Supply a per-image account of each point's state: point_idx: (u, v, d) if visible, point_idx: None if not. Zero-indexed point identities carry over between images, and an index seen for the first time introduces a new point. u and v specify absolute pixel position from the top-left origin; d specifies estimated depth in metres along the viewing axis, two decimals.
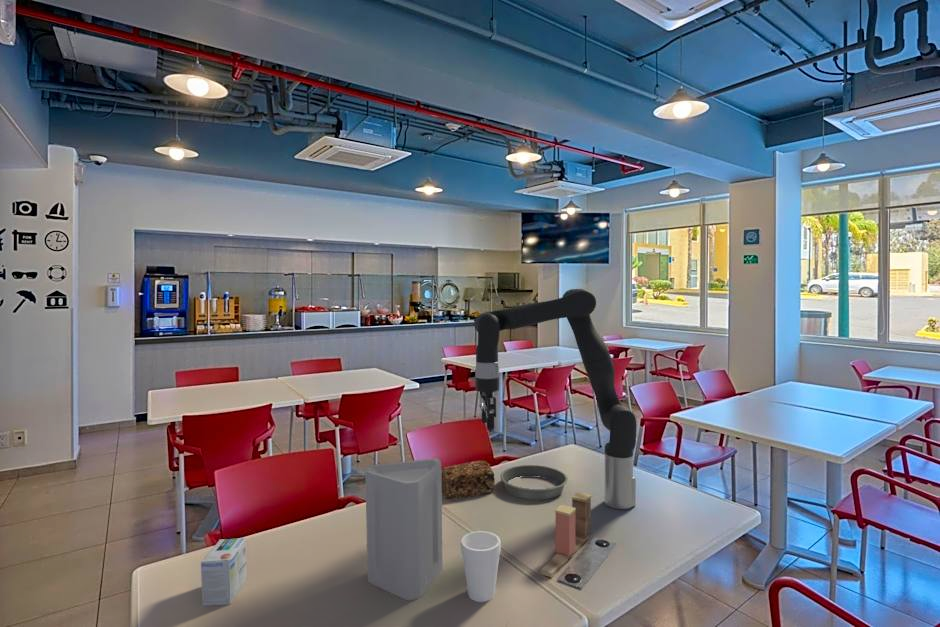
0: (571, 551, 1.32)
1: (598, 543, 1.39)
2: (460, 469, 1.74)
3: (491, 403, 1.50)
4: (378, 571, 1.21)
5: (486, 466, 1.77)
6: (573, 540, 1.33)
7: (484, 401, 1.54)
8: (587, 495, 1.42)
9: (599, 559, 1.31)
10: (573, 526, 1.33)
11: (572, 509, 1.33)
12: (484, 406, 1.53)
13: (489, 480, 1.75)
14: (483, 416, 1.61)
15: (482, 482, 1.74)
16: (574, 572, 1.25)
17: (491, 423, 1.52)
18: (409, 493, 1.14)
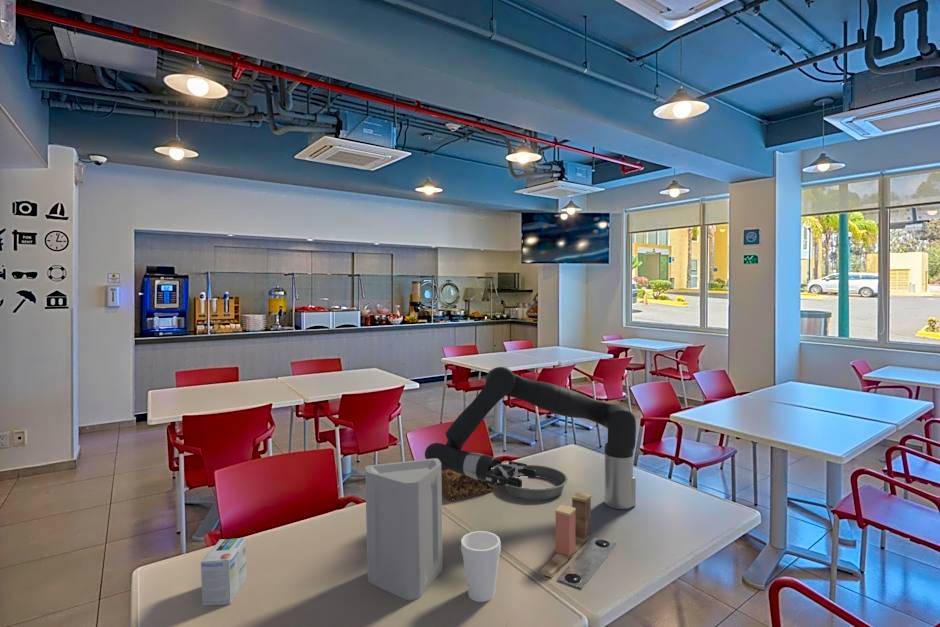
0: (571, 551, 1.32)
1: (598, 543, 1.39)
2: None
3: (489, 480, 1.39)
4: (378, 571, 1.21)
5: None
6: (573, 540, 1.33)
7: (499, 479, 1.42)
8: (587, 495, 1.42)
9: (599, 559, 1.31)
10: (573, 526, 1.33)
11: (572, 509, 1.33)
12: None
13: None
14: (529, 475, 1.44)
15: (482, 482, 1.75)
16: (574, 572, 1.25)
17: (512, 482, 1.36)
18: (409, 493, 1.14)
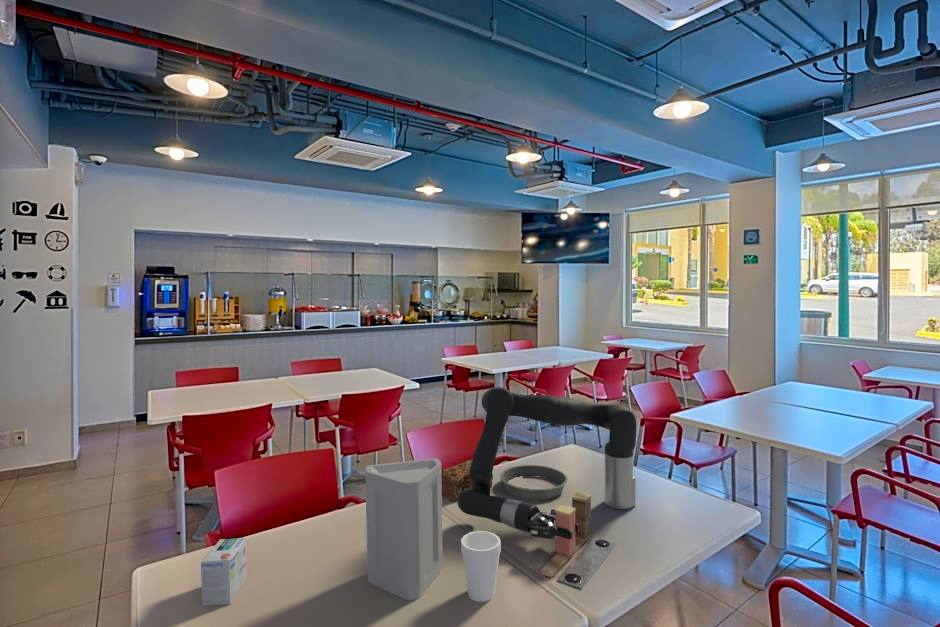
0: (571, 551, 1.32)
1: (598, 543, 1.39)
2: (462, 469, 1.74)
3: (536, 533, 1.31)
4: (378, 571, 1.21)
5: None
6: (573, 540, 1.33)
7: None
8: (587, 495, 1.42)
9: (599, 559, 1.31)
10: (573, 526, 1.33)
11: (572, 509, 1.33)
12: (545, 534, 1.34)
13: None
14: None
15: None
16: (574, 572, 1.25)
17: (562, 534, 1.30)
18: (409, 493, 1.14)
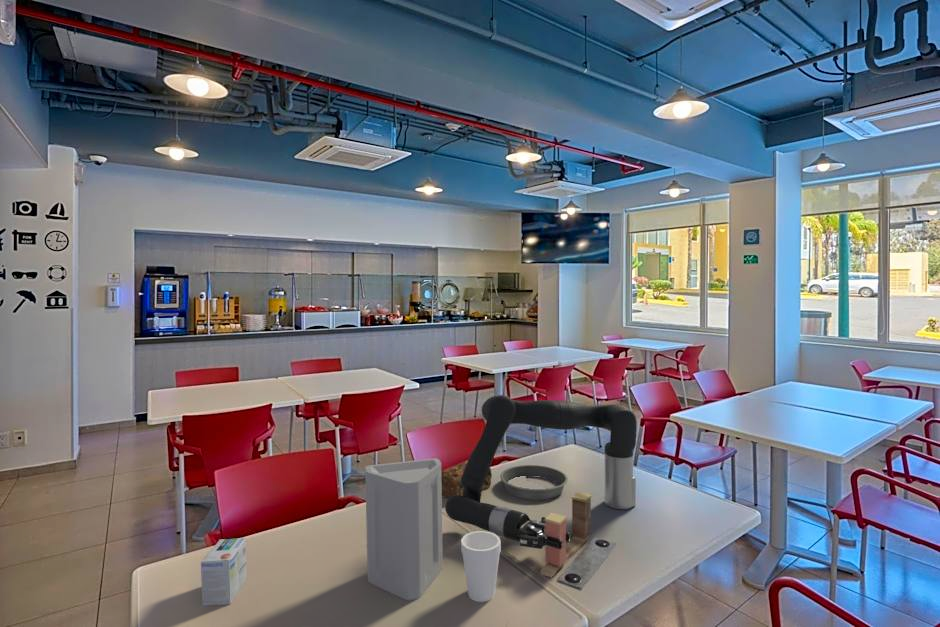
0: (562, 561, 1.27)
1: (598, 543, 1.39)
2: (463, 469, 1.74)
3: (525, 542, 1.26)
4: (378, 571, 1.21)
5: None
6: (564, 550, 1.28)
7: None
8: (587, 495, 1.42)
9: (599, 559, 1.31)
10: (564, 535, 1.28)
11: (563, 518, 1.28)
12: None
13: (488, 476, 1.79)
14: None
15: None
16: (574, 572, 1.25)
17: (552, 543, 1.25)
18: (409, 493, 1.14)
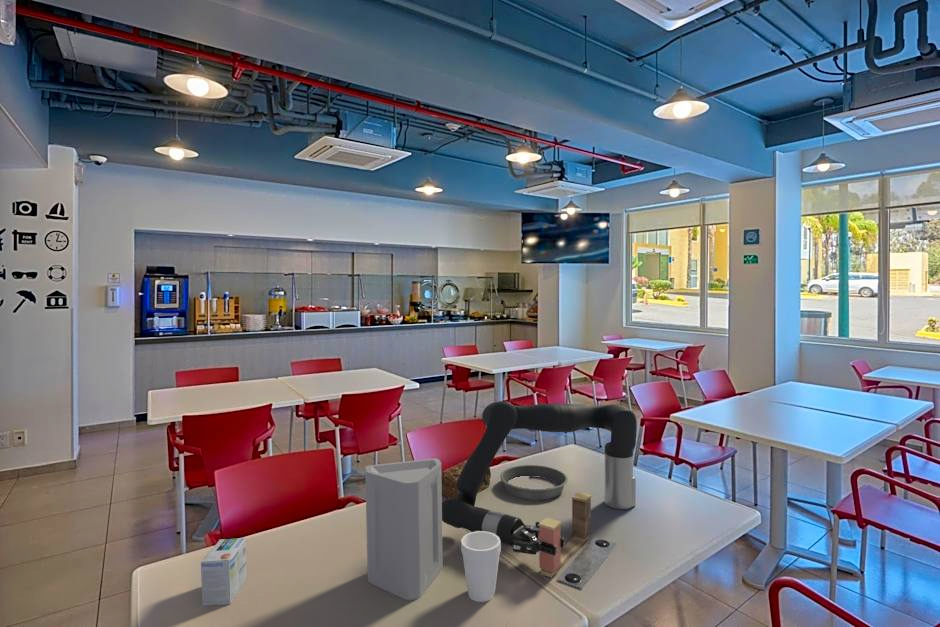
0: (556, 567, 1.24)
1: (598, 543, 1.39)
2: None
3: (518, 548, 1.24)
4: (378, 571, 1.21)
5: None
6: (558, 556, 1.25)
7: None
8: (587, 495, 1.42)
9: (599, 559, 1.31)
10: (558, 541, 1.25)
11: (557, 523, 1.25)
12: None
13: (487, 475, 1.80)
14: None
15: None
16: (574, 572, 1.25)
17: (546, 549, 1.22)
18: (409, 493, 1.14)
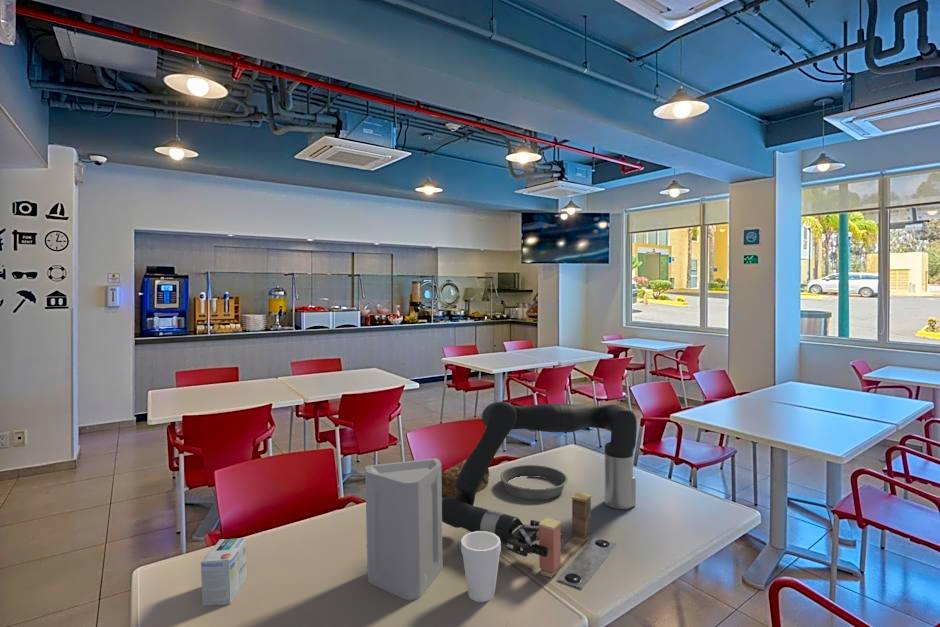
0: (556, 567, 1.24)
1: (598, 543, 1.39)
2: None
3: (511, 547, 1.24)
4: (378, 571, 1.21)
5: None
6: (558, 556, 1.25)
7: None
8: (587, 495, 1.42)
9: (599, 559, 1.31)
10: (558, 541, 1.25)
11: (557, 523, 1.25)
12: None
13: (486, 474, 1.81)
14: None
15: None
16: (574, 572, 1.25)
17: (537, 551, 1.22)
18: (409, 493, 1.14)
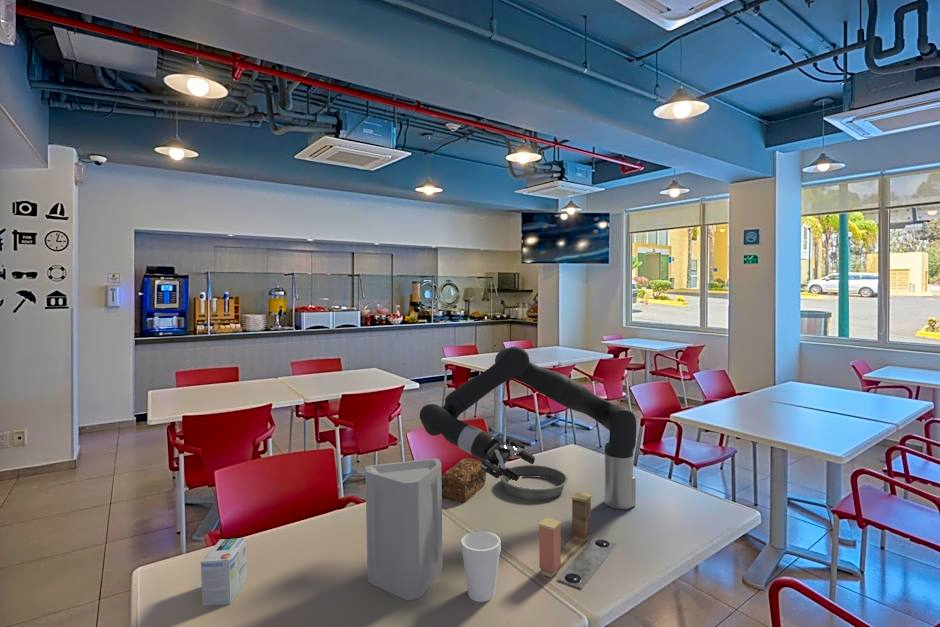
0: (556, 567, 1.24)
1: (598, 543, 1.39)
2: (466, 469, 1.74)
3: (485, 467, 1.31)
4: (378, 571, 1.21)
5: (477, 461, 1.83)
6: (558, 556, 1.25)
7: (494, 463, 1.35)
8: (587, 495, 1.42)
9: (599, 559, 1.31)
10: (558, 541, 1.25)
11: (557, 523, 1.25)
12: None
13: (484, 473, 1.82)
14: (526, 459, 1.36)
15: (480, 477, 1.79)
16: (574, 572, 1.25)
17: (509, 475, 1.29)
18: (409, 493, 1.14)
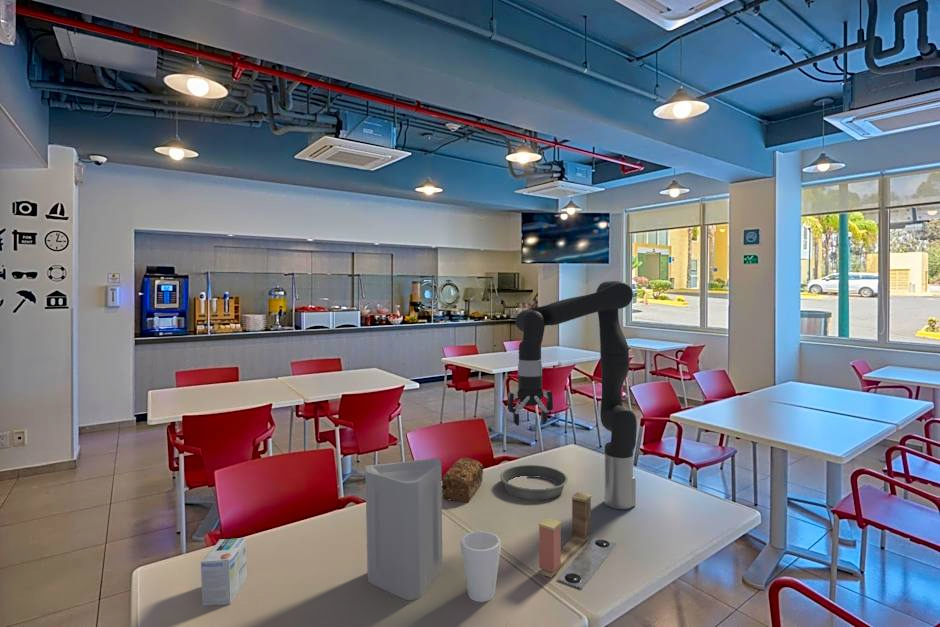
0: (556, 567, 1.24)
1: (598, 543, 1.39)
2: (467, 469, 1.74)
3: (508, 397, 1.54)
4: (378, 571, 1.21)
5: (474, 460, 1.83)
6: (558, 556, 1.25)
7: None
8: (587, 495, 1.42)
9: (599, 559, 1.31)
10: (558, 541, 1.25)
11: (557, 523, 1.25)
12: (518, 401, 1.56)
13: (481, 472, 1.83)
14: (541, 416, 1.56)
15: (479, 476, 1.80)
16: (574, 572, 1.25)
17: (514, 418, 1.54)
18: (409, 493, 1.14)
